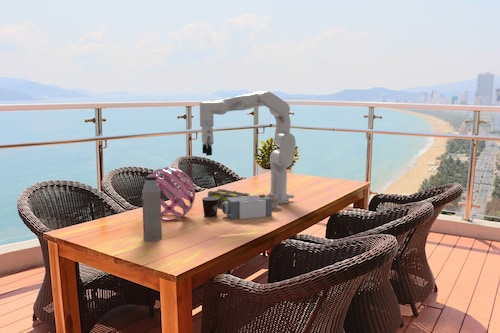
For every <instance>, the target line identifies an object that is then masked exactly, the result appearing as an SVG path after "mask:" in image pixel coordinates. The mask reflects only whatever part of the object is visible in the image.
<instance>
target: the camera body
mask: <svg viewBox="0 0 500 333" xmlns="http://www.w3.org/2000/svg"><path fill="white" fill-rule="evenodd" d="M257 195H258V200H266V217H272V215H273V214H272V213H273V212H272V211H273V209H272V199H271V198H270V197H268V196H266V195H267V194H264V193H260V194H257ZM243 201H248V196H244V197H229V198H226V202H223V204H222V208H221V211H222V213H223V215H226V216H227V217H228V218H230V219H231V220H240V219H239V202H243Z"/></svg>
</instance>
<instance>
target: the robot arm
mask: <svg viewBox="0 0 500 333" xmlns="http://www.w3.org/2000/svg"><path fill="white" fill-rule="evenodd" d="M260 107H266V108H268V110H269V113H270V114H271V115H272V116H273V117H274V119H275V131H274V139H273V143H274V145H275V146H276V147H278V148H279V149H274V150H273V151H272V152H270V156H269V164H270V192H272V193H273V194H274V195H276V196H277V200H279V203H278V205H281V204H288V203H289V202H290V199H294V198H295V195H294V194H288V193H287V188H288V187H287V184H288V183H287V182H288V181H287V180H288V179H287V178H288V173H287V172H288V170H287V168H289V167H291V166H292V165H293V161H294V157H295V150H296V144H297V141H296V138H295V136H294V135H293V134H292V133H291V117H290V114H289V113H290V110H291V109H290V108H291V106H290V105H289V104H288V103H287V102H286V101H285V100H284V99H282V98H280V97H279V96H277V95H275V93H273V92H272V91H268V90H265V91H264V90H261V91H256V92H251V93H246V94H242V95H238V96H234V97H230V98H224V99H219V100H213V102H212V101H201V102H199V127H201V143H202V154H205V155H206V156H212V155H213V146H212V145H214V130H213V127H214V115H220V116H221V115H225V114H227V113H228V112H233V111H247V110H250V109H254V108H255V109H256V108H260Z"/></svg>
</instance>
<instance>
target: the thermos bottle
mask: <svg viewBox="0 0 500 333" xmlns="http://www.w3.org/2000/svg"><path fill="white" fill-rule="evenodd" d="M156 179H157V177H147V176H146V177H145V180H146V181H145V182H144V184H143V187H142V188H143V189H142V190H141V194H142V195H141V196H142V197H141V198H142V223H143V224H142V225H143V227H142V228H143V232H142V233H143V241H145V242H156V241H157V242H158V241H160V240H162V238H163V235H162V233H163V232H162V231H163V230H162V220H161V218H162V216H161V212H162V205H161V199H162V197H161V196H162V195H161V193H162V191H161V190H160V189H159V184H157V180H156Z"/></svg>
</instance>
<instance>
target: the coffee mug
mask: <svg viewBox="0 0 500 333" xmlns="http://www.w3.org/2000/svg"><path fill="white" fill-rule="evenodd" d="M201 199H202V207H203V208H202V209H203V215H204V218H205V219H206V218H215V217H217V216H218V209H219V205H220V203H221V201H220V199H219V198H217V197H208V196H205V197H202V198H201ZM218 200H219V201H220V202H219V205H218Z"/></svg>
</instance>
